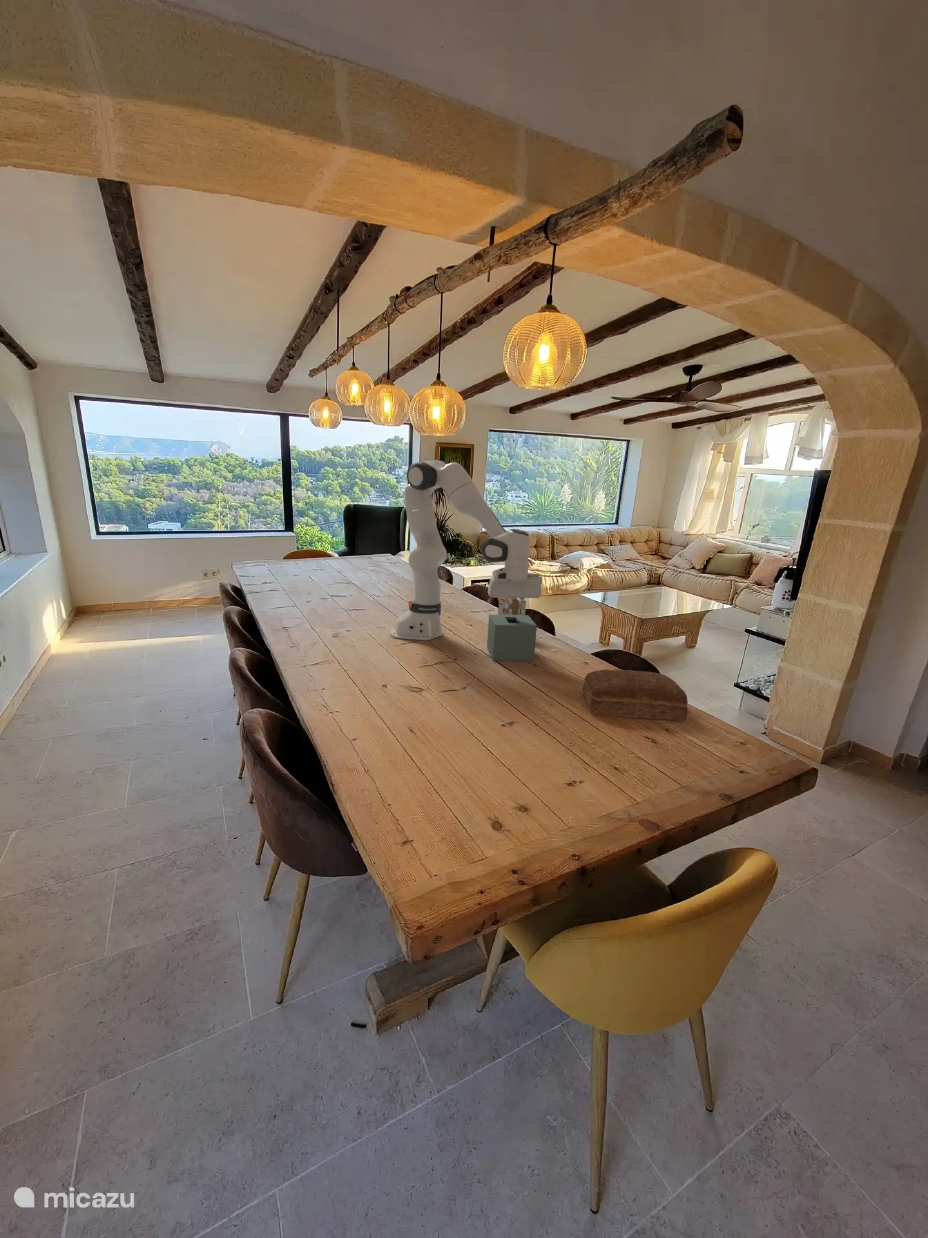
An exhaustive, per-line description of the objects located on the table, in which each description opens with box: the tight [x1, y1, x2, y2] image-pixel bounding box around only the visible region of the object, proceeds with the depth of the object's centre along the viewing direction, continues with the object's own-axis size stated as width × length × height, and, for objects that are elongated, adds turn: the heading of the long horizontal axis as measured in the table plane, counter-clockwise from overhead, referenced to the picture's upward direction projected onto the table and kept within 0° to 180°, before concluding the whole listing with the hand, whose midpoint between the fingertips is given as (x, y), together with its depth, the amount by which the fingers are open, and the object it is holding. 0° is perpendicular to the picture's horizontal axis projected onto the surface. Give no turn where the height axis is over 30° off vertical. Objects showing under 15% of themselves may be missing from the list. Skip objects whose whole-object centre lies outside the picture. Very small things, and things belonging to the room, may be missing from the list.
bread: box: [582, 669, 689, 722], centre depth 152 cm, size 17×29×11 cm, turn 87°
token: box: [509, 598, 519, 615], centre depth 188 cm, size 2×6×6 cm, turn 6°
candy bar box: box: [497, 598, 527, 615], centre depth 215 cm, size 11×5×16 cm, turn 58°
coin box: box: [486, 614, 538, 661], centre depth 192 cm, size 16×14×14 cm
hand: (513, 608), depth 188 cm, fingers closed on token, 2 cm apart
